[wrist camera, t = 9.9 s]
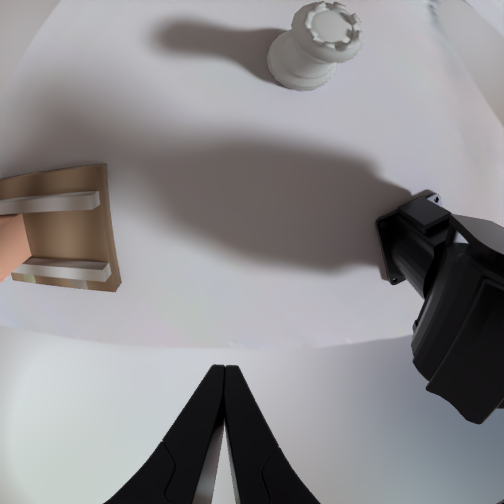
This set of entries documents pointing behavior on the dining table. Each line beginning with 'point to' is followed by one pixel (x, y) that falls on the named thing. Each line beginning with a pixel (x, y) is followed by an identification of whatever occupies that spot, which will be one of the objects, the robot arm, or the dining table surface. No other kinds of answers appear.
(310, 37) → the rook chess piece
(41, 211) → the wooden rail base
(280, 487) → the robot arm
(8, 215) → the slider tab
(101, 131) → the dining table surface
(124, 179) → the dining table surface
